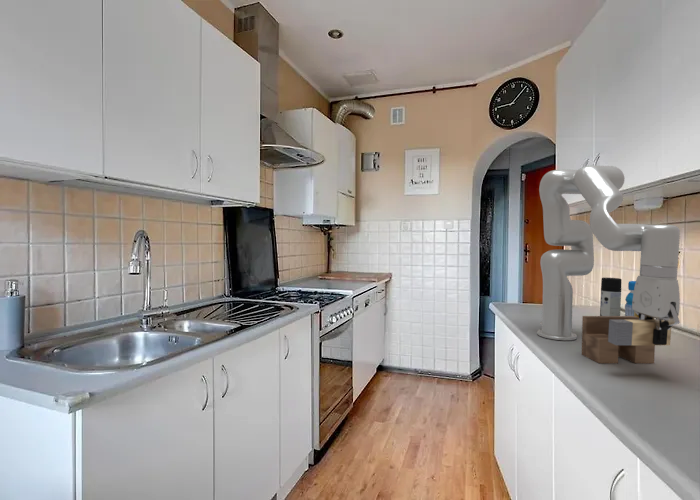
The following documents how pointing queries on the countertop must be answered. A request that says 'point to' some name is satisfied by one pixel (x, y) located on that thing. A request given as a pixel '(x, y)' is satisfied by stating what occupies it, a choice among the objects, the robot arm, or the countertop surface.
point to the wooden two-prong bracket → (606, 352)
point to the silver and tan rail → (633, 332)
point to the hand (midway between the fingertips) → (653, 341)
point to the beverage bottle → (630, 300)
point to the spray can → (610, 297)
